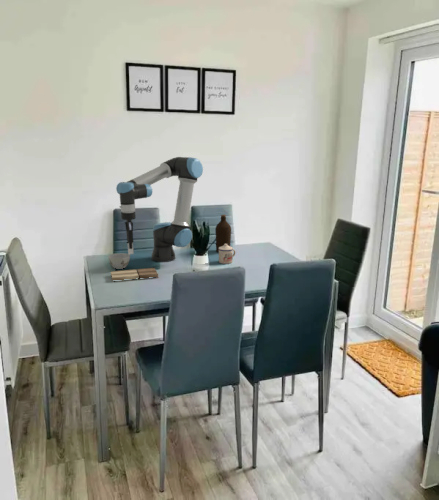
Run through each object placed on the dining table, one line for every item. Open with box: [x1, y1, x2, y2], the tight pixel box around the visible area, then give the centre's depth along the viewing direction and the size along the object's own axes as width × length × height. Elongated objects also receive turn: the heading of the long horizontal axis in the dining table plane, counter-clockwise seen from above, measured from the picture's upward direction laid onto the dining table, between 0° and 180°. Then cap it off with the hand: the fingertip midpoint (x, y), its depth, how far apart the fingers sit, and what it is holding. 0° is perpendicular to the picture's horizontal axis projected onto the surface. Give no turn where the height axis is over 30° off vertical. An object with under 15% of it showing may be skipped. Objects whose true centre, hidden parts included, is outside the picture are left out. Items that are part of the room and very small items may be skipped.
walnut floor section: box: [136, 267, 159, 279], centre depth 249 cm, size 12×10×2 cm
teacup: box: [107, 252, 131, 270], centre depth 262 cm, size 15×12×8 cm
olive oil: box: [214, 214, 232, 254], centre depth 297 cm, size 11×11×25 cm
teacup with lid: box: [218, 244, 236, 265], centre depth 275 cm, size 12×9×12 cm
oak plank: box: [110, 268, 140, 281], centre depth 246 cm, size 12×14×2 cm
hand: (130, 253), depth 244 cm, fingers closed
